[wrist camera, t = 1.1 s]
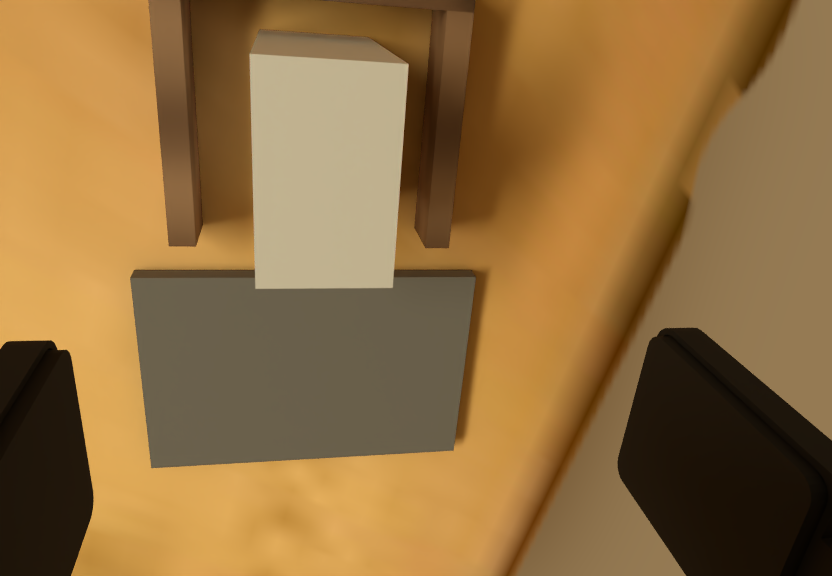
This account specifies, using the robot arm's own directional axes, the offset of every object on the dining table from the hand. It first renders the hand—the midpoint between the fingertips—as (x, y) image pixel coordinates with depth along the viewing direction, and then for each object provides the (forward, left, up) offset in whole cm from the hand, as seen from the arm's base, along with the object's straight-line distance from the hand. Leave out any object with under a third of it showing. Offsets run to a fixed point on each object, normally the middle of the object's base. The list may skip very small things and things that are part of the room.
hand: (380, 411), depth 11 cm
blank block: (0, 0, -24) cm, 24 cm away
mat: (+14, 0, -24) cm, 28 cm away
